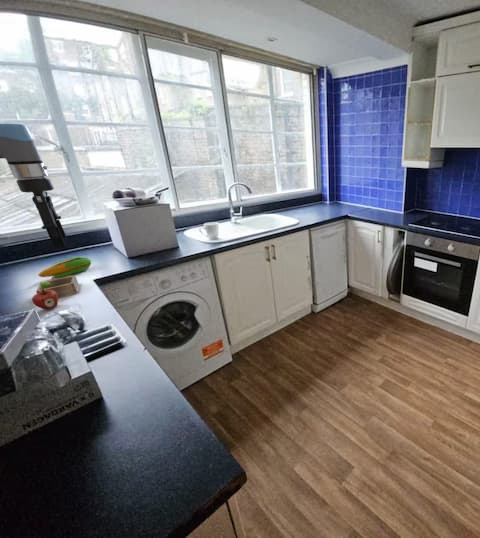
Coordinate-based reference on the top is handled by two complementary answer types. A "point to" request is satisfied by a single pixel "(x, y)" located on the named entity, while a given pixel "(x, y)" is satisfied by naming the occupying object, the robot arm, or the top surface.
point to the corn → (66, 267)
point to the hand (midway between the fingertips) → (61, 242)
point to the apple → (45, 298)
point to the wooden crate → (62, 286)
